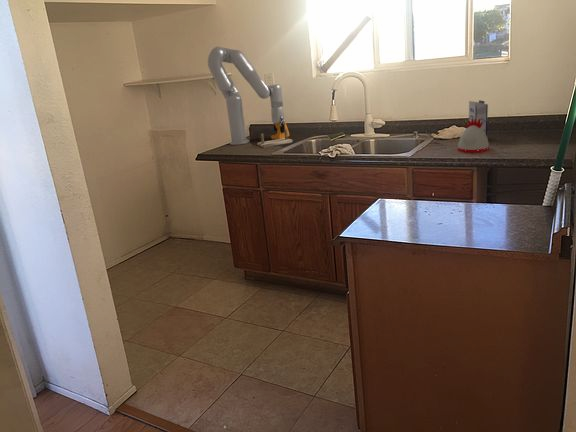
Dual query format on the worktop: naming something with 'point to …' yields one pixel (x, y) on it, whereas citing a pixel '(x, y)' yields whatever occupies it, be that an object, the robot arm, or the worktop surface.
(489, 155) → the worktop surface
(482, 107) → the milk carton
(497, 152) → the worktop surface
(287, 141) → the tool rest
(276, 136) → the bracket
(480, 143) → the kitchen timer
